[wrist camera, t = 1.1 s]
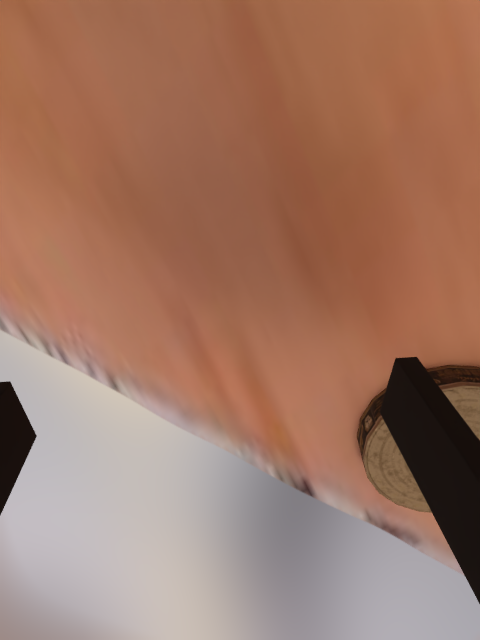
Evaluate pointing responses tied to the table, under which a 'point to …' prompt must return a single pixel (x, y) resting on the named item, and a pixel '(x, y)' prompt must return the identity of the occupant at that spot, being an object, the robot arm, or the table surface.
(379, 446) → the wood slice
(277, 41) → the table surface
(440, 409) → the robot arm
